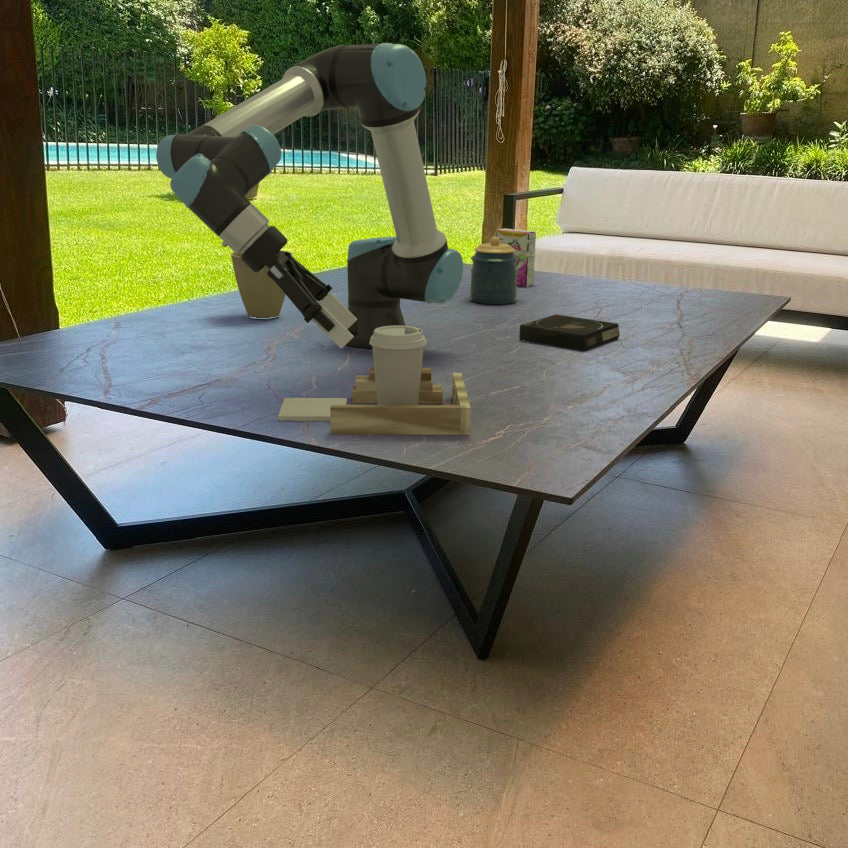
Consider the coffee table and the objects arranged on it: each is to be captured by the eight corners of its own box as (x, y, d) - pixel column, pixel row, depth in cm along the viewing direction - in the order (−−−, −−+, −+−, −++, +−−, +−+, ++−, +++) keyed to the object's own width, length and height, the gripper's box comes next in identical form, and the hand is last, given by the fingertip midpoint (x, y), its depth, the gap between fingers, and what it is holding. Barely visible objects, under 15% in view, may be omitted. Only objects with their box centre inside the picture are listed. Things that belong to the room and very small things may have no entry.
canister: (503, 307, 261) (505, 240, 256) (461, 301, 268) (462, 237, 262) (524, 299, 272) (527, 236, 266) (483, 295, 278) (485, 232, 273)
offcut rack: (338, 396, 177) (337, 372, 176) (460, 396, 178) (461, 373, 176) (330, 434, 156) (330, 407, 155) (470, 434, 157) (470, 408, 155)
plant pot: (229, 323, 237) (226, 257, 232) (238, 311, 251) (235, 249, 246) (291, 323, 237) (289, 257, 232) (296, 311, 251) (295, 249, 246)
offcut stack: (353, 396, 177) (353, 367, 176) (441, 396, 178) (441, 367, 176) (352, 403, 173) (352, 373, 171) (442, 403, 173) (442, 374, 172)
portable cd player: (585, 353, 214) (586, 335, 212) (519, 342, 223) (519, 325, 222) (619, 340, 226) (620, 323, 225) (555, 330, 236) (556, 314, 235)
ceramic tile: (285, 402, 173) (284, 397, 173) (346, 402, 173) (346, 398, 173) (278, 420, 163) (277, 416, 162) (344, 421, 163) (343, 416, 163)
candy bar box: (493, 284, 297) (495, 229, 292) (501, 281, 301) (503, 228, 296) (526, 287, 291) (529, 232, 286) (534, 285, 295) (536, 230, 290)
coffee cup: (413, 428, 160) (414, 338, 155) (360, 421, 163) (359, 333, 158) (434, 412, 168) (435, 327, 164) (383, 406, 171) (383, 322, 167)
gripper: (250, 246, 168) (338, 332, 173) (225, 267, 144) (328, 367, 149) (280, 215, 166) (368, 303, 171) (260, 232, 143) (363, 333, 148)
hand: (349, 333), depth 160 cm, fingers open, 13 cm apart
